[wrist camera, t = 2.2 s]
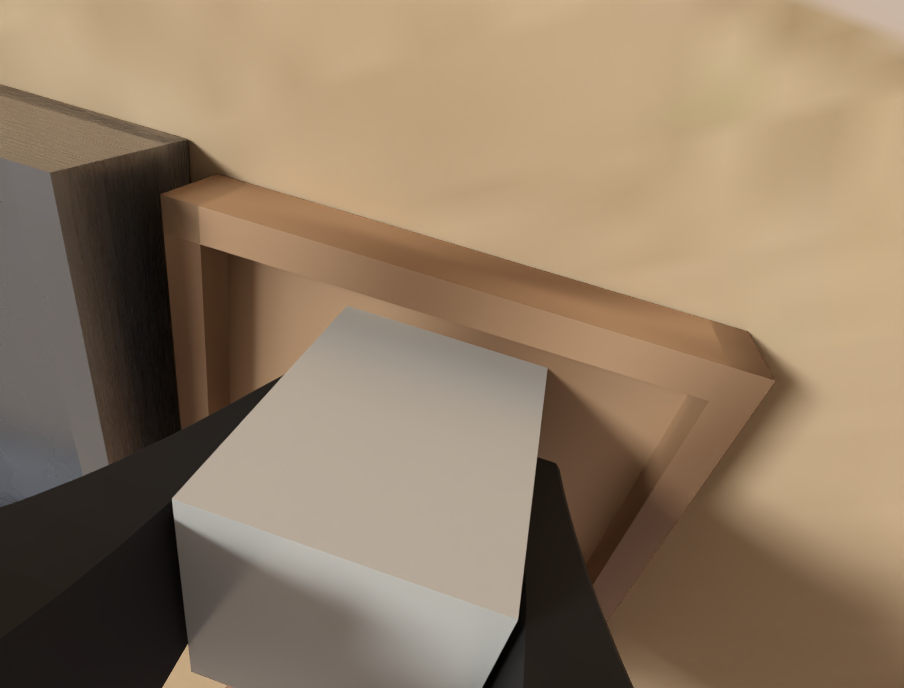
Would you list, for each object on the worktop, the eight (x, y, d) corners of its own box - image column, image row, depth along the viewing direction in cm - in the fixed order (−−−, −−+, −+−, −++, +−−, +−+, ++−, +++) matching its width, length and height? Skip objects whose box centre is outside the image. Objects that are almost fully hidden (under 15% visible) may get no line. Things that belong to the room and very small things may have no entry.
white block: (547, 368, 10) (518, 620, 5) (492, 506, 12) (441, 765, 8) (347, 305, 10) (172, 498, 6) (328, 452, 12) (191, 671, 8)
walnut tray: (748, 331, 9) (775, 380, 8) (529, 681, 16) (524, 738, 15) (217, 174, 10) (160, 193, 9) (228, 573, 17) (198, 619, 16)
